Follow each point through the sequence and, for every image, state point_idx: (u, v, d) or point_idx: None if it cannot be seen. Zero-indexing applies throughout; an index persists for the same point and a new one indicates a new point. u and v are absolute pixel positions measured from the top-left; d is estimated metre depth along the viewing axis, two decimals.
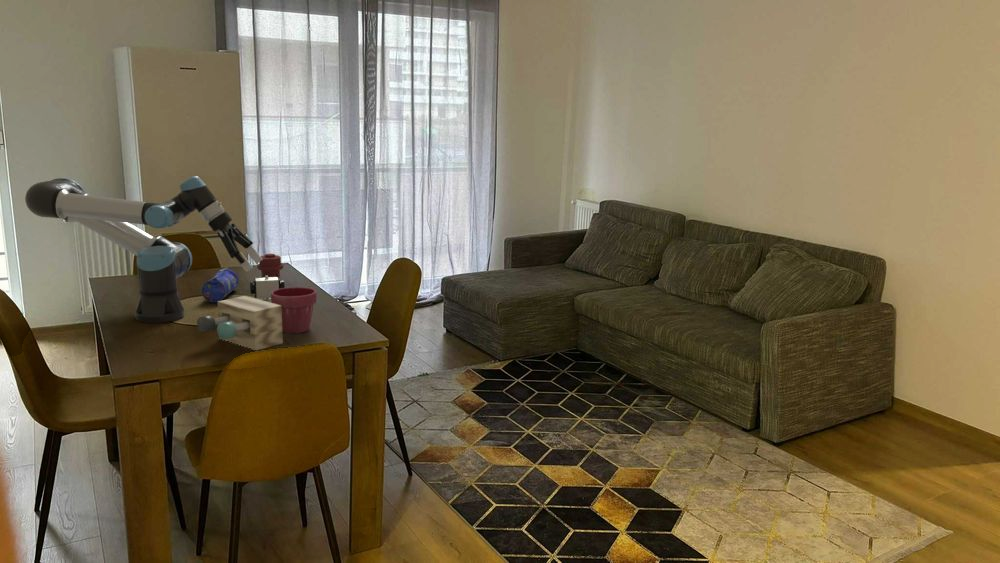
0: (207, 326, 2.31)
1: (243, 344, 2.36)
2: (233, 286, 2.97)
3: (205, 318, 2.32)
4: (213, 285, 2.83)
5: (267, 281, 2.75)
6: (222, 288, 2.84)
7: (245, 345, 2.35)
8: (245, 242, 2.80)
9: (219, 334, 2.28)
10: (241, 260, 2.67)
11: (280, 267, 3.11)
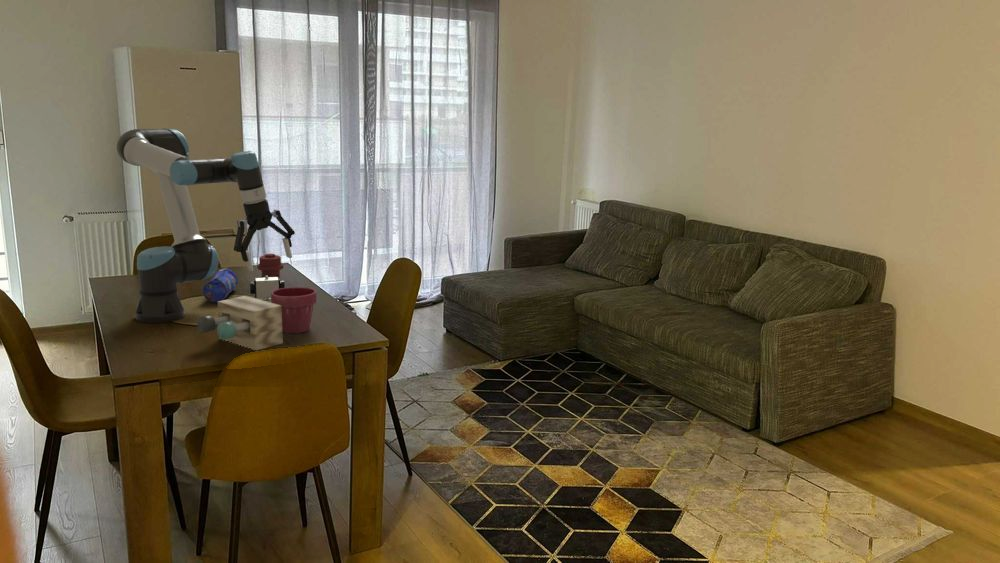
0: (207, 326, 2.31)
1: (243, 344, 2.36)
2: (233, 286, 2.97)
3: (205, 318, 2.32)
4: (214, 285, 2.83)
5: (267, 281, 2.75)
6: (224, 288, 2.84)
7: (245, 345, 2.35)
8: (281, 234, 2.54)
9: (219, 334, 2.28)
10: (243, 259, 2.48)
11: (280, 267, 3.11)
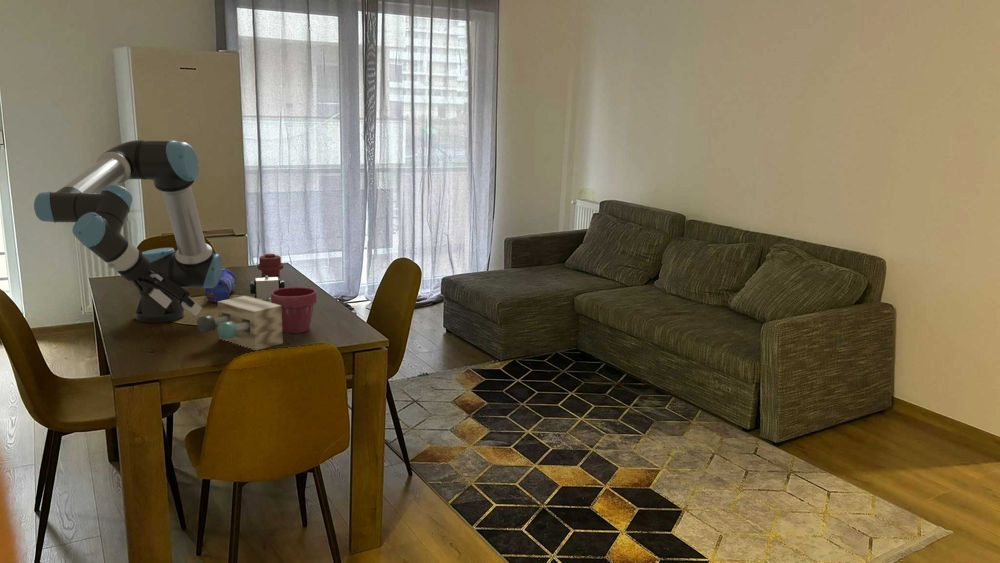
0: (207, 326, 2.31)
1: (243, 344, 2.36)
2: (233, 286, 2.97)
3: (205, 318, 2.32)
4: (217, 285, 2.83)
5: (267, 281, 2.75)
6: (226, 288, 2.84)
7: (245, 345, 2.35)
8: None
9: (219, 334, 2.28)
10: None
11: (280, 267, 3.11)
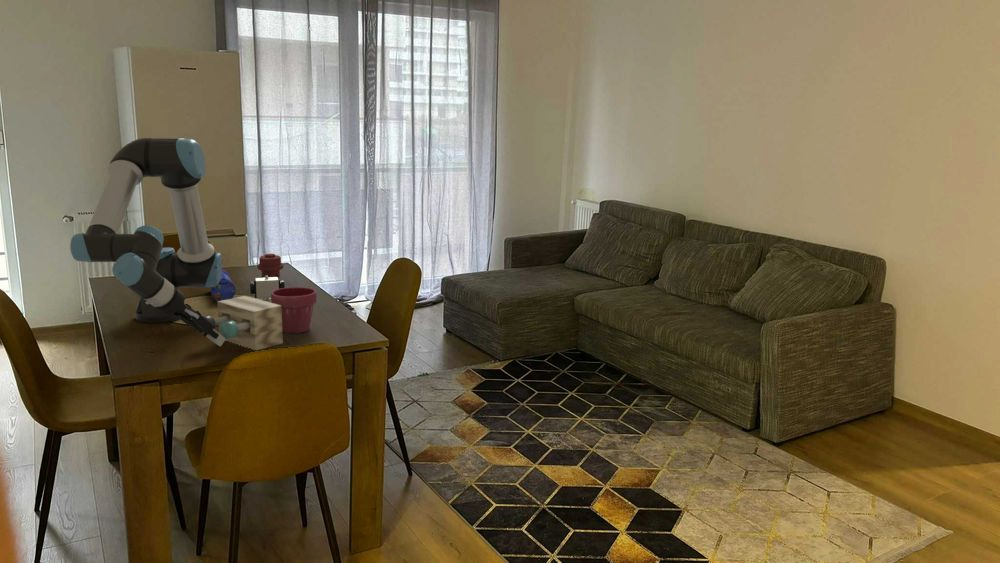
0: None
1: (243, 344, 2.36)
2: None
3: (205, 318, 2.32)
4: (223, 285, 2.84)
5: (267, 281, 2.75)
6: (232, 287, 2.85)
7: (245, 345, 2.35)
8: None
9: (222, 333, 2.28)
10: None
11: (280, 267, 3.11)
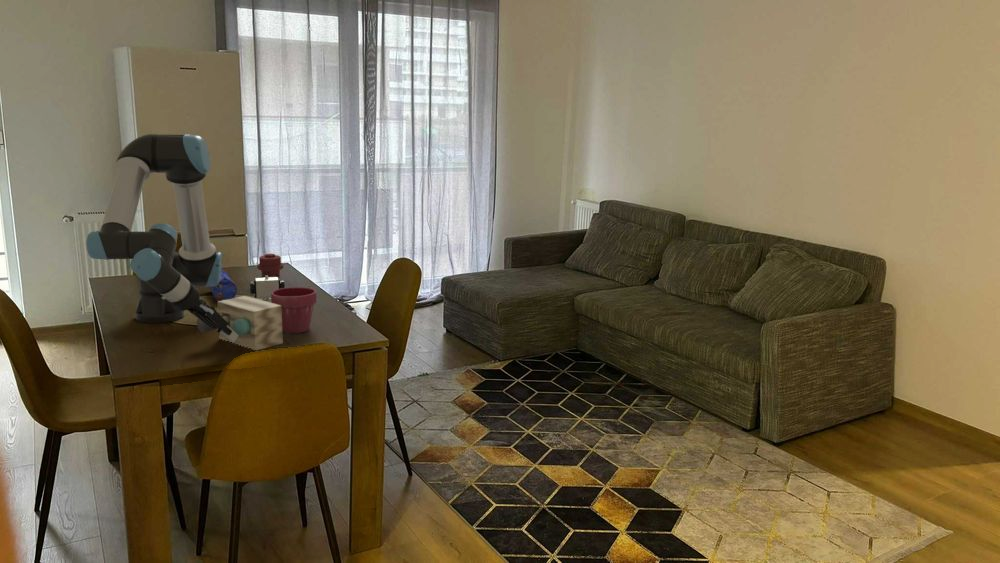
0: (207, 326, 2.31)
1: (243, 344, 2.36)
2: None
3: None
4: (225, 285, 2.84)
5: (267, 281, 2.75)
6: (234, 287, 2.86)
7: (245, 345, 2.35)
8: None
9: (235, 330, 2.32)
10: None
11: (280, 267, 3.11)
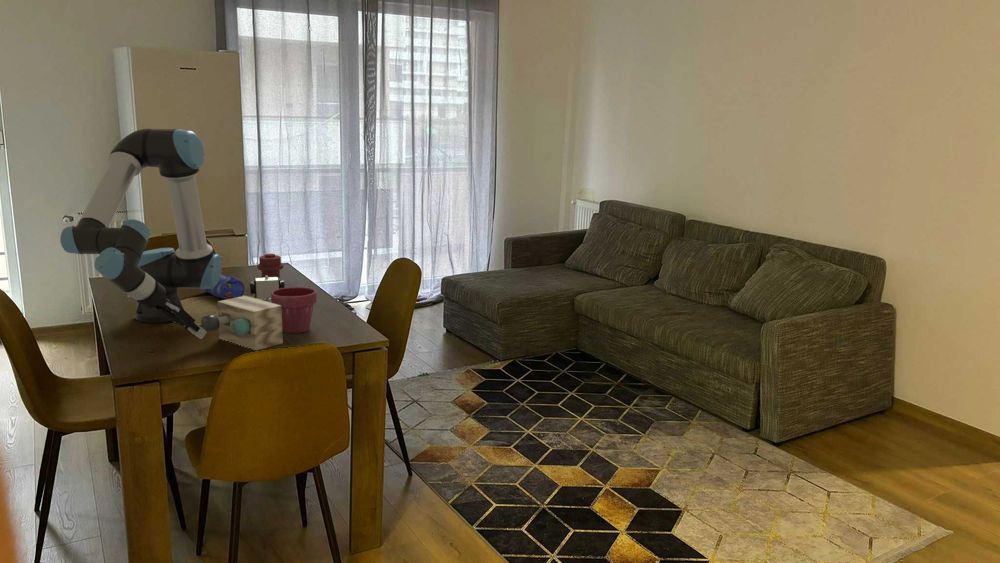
0: (211, 325, 2.33)
1: (243, 344, 2.36)
2: None
3: (209, 317, 2.33)
4: (233, 284, 2.86)
5: (267, 281, 2.75)
6: (241, 286, 2.88)
7: (245, 345, 2.35)
8: None
9: (234, 330, 2.32)
10: None
11: (280, 267, 3.11)
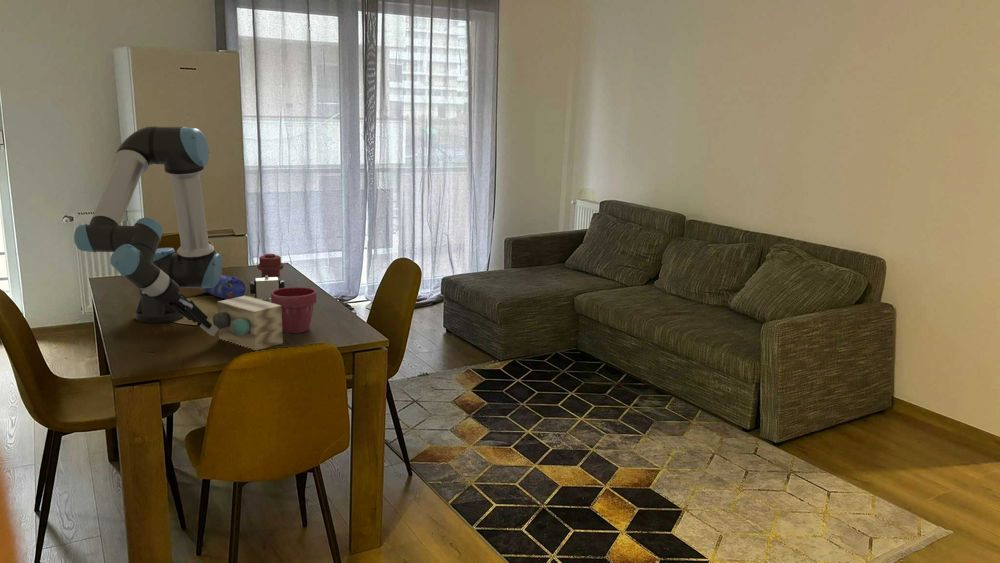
0: (223, 323, 2.36)
1: (243, 344, 2.36)
2: None
3: (221, 315, 2.36)
4: (234, 284, 2.86)
5: (267, 281, 2.75)
6: (242, 285, 2.89)
7: (245, 345, 2.35)
8: None
9: (234, 330, 2.32)
10: None
11: (280, 267, 3.11)
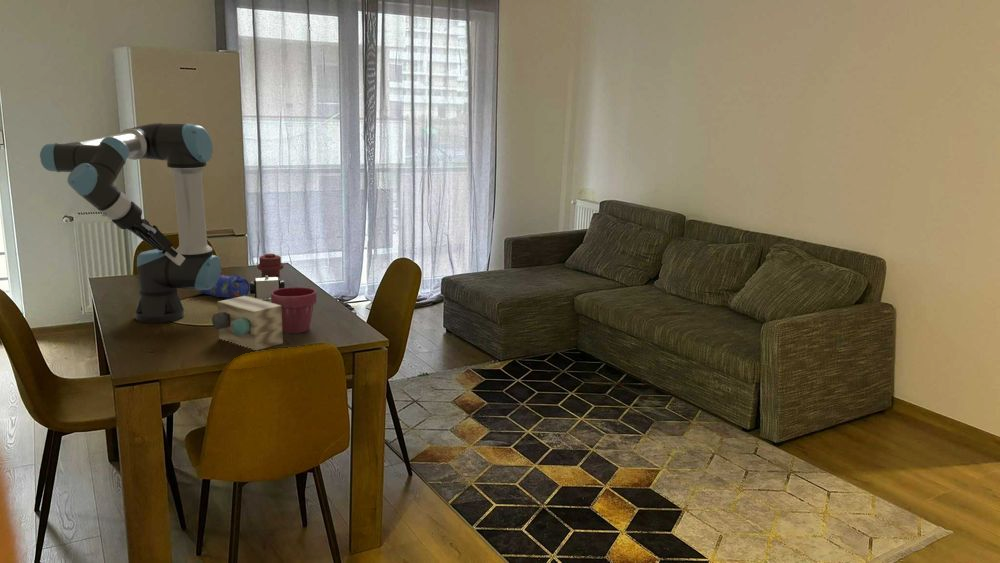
0: (222, 323, 2.35)
1: (243, 344, 2.36)
2: None
3: (220, 315, 2.36)
4: (240, 283, 2.88)
5: (267, 281, 2.75)
6: (247, 284, 2.91)
7: (245, 345, 2.35)
8: None
9: (234, 330, 2.32)
10: None
11: (280, 267, 3.11)
